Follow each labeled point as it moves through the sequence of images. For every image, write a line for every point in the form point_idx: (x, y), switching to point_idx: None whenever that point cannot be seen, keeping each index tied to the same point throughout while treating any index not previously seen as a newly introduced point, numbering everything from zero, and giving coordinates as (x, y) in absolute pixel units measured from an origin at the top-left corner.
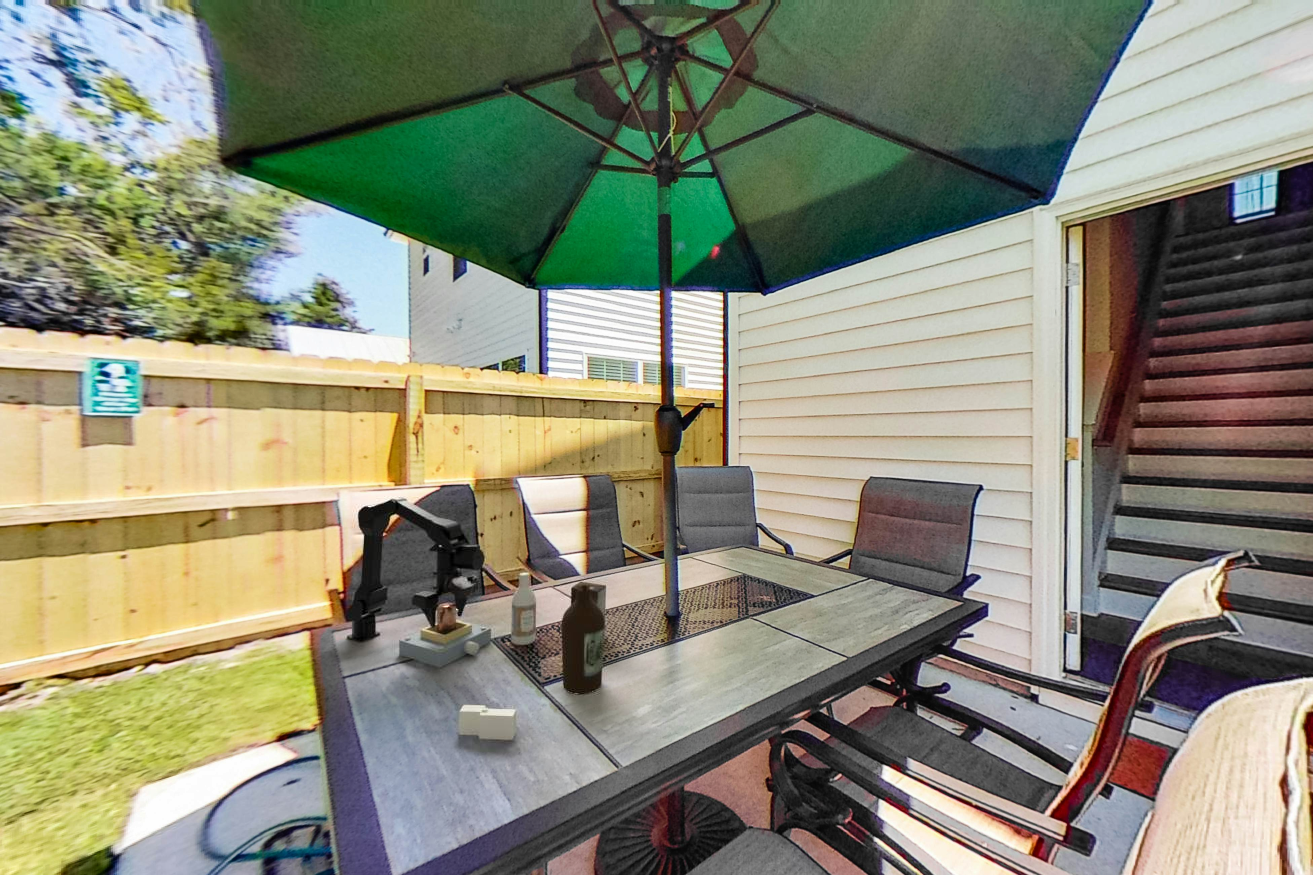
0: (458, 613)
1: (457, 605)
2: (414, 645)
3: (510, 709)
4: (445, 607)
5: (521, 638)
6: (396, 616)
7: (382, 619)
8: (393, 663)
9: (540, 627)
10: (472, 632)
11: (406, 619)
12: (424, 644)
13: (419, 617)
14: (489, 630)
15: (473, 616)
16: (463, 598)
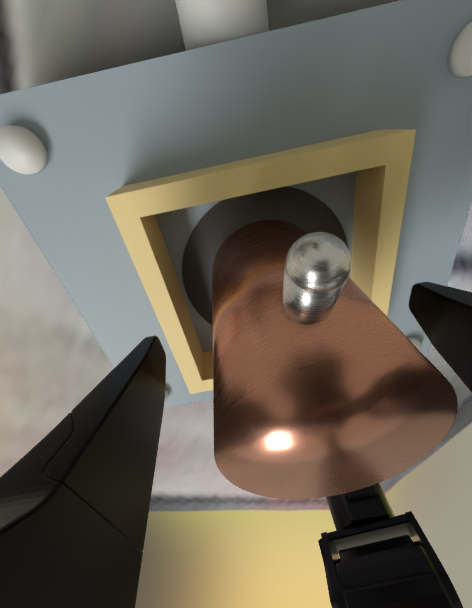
0: (159, 364)
1: (149, 438)
2: (448, 267)
3: None
4: (385, 414)
5: None
6: (223, 504)
7: (254, 504)
8: (457, 269)
9: None
10: (129, 158)
11: (216, 486)
12: (432, 232)
13: (184, 482)
14: None
15: (31, 421)
16: (59, 507)
